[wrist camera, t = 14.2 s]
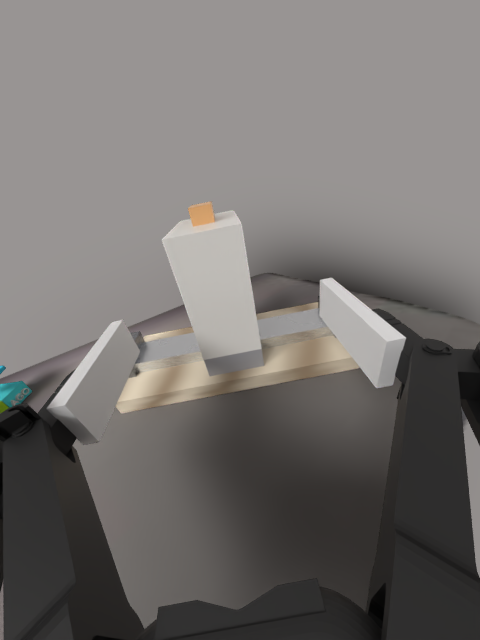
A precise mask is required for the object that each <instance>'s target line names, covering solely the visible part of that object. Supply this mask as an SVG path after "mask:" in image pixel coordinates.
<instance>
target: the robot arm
mask: <svg viewBox="0 0 480 640" xmlns="http://www.w3.org/2000/svg"><path fill="white" fill-rule="evenodd" d="M319 316H320V317H321V318H322V320H323V321H324V322H325V324H326V325H327V326H328V327H329V329H330V330H331V331H332V332H333V334H334V335H335V336H336V338H337V339H338V340H339V341H340V343H341V344H342V345H343V346H344V348H345V349H346V350H347V352H348V353H349V354H350V355H351V357H352V358H353V359H354V360H355V362H356V363H357V364H358V366H359V367H360V368H361V369H362V371H363V372H364V373H365V374H366V376H367V377H368V378H369V380H370V381H371V382H372V383H373V385H374V386H375V387H376V388H381V387H386V386H391V385H393V383H394V379H395V376H396V377H397V378H398V379H399V380H400V381H401V382H402V383H401V387H400V390H399V393H398V396H397V399H399V400H398V406H397V413H396V420H395V427H394V434H393V441H392V448H391V455H390V462H389V469H388V476H387V483H386V490H385V497H384V504H383V511H382V518H381V525H380V532H379V539H378V546H377V553H376V558H375V563H374V567H373V571H372V576H371V581H370V587H369V593H368V600H367V607H366V612H364V611H363V610H362V609H361V608H360V607H359V606H357V605H356V604H355V603H354V602H352V601H351V600H350V599H348V598H346V597H345V596H343V595H341V594H340V593H338V592H335V591H333V590H330V589H328V588H324V587H320V586H319V585H318V581H317V578H315V579H310V580H304V581H299V582H293V583H288V584H282V585H278V586H276V587H274V588H273V589H271V590H270V591H268V592H267V593H265V594H264V595H262V596H260V597H259V598H257V599H256V600H254V601H253V602H251V603H250V604H248V605H246V606H245V607H243V608H242V609H239V610H233V609H230V608H226V607H222V606H218V605H214V604H210V603H206V602H202V601H198V600H195V601H190V602H184V603H179V604H173V605H168V606H162V607H159V608H158V615H157V620H155V621H154V622H153V623H152V624H150V625H149V626H148V627H147V628H146V629H145V630H144V627H143V625H142V623H141V621H140V619H139V617H138V615H137V614H136V613H135V611H134V610H133V609H132V607H131V606H130V604H129V602H128V600H127V598H126V595H125V592H124V590H123V587H122V584H121V581H120V578H119V575H118V572H117V569H116V566H115V563H114V560H113V557H112V554H111V551H110V548H109V545H108V542H107V539H106V536H105V533H104V530H103V528H102V525H101V522H100V519H99V516H98V513H97V510H96V507H95V504H94V501H93V498H92V495H91V492H90V489H89V486H88V483H87V480H86V477H85V474H84V471H83V468H82V466H81V463H80V460H79V457H78V454H77V451H76V449H75V448H74V447H73V446H72V445H73V443H74V442H75V440H76V438H77V439H78V440H79V441H80V442H81V443H82V444H83V445H87V444H93V443H98V442H100V440H101V438H102V435H103V433H104V431H105V429H106V426H107V424H108V422H109V420H110V418H111V415H112V413H113V411H114V409H115V406H116V404H117V402H118V400H119V398H120V395H121V393H122V391H123V389H124V386H125V384H126V382H127V380H128V378H129V375H130V373H131V371H132V369H133V366H134V364H135V362H136V360H137V358H138V355H139V353H140V350H139V348H138V346H137V345H136V343H135V341H134V339H133V337H132V335H131V333H130V332H129V330H128V328H127V326H126V324H125V322H124V321H123V320H119V321H115V322H111V324H110V325H109V326H108V328H107V329H106V330H105V332H104V333H103V334H102V336H101V337H100V338H99V339H98V341H97V342H96V343H95V345H94V346H93V347H92V349H91V350H90V351H89V353H88V354H87V355H86V357H85V358H84V359H83V361H82V362H81V363H80V365H79V366H78V367H77V369H75V370H74V371H73V372H71V373H70V374H69V375H68V376H67V377H66V378H65V379H64V380H63V382H62V383H61V384H60V387H58V388H57V389H56V391H55V393H53V394H52V396H51V397H50V398H49V400H48V401H47V402H46V403H45V405H44V406H43V407H42V409H41V410H40V411H39V412H38V414H37V413H36V412H35V411H34V410H33V409H32V408H31V407H30V406H29V405H28V404H26V403H21V404H17V405H15V406H12V407H10V408H8V409H7V410H5V411H4V412H2V413H0V591H1V587H2V582H3V592H4V640H480V578H479V575H478V573H477V569H476V563H475V552H474V541H473V531H472V519H471V509H470V499H469V487H468V476H467V466H466V456H465V444H464V433H463V423H462V412H461V407H462V409H463V411H464V413H465V415H466V417H467V419H468V422H469V424H470V426H471V428H472V430H473V432H474V434H475V437H476V438H477V440H478V443H479V445H480V342H479V343H478V345H477V347H476V349H475V350H469V349H453V348H452V347H451V346H450V345H448V344H446V343H444V342H442V341H438V340H434V339H423V338H422V337H420V336H419V335H418V334H416V333H415V332H414V331H412V330H411V329H410V328H408V327H407V326H406V325H404V324H402V323H401V322H400V321H399V320H398V319H395V317H393V316H392V315H391V314H389V313H388V312H386V311H383V310H380V309H373V310H371V309H370V308H369V307H367V306H366V305H365V304H364V303H362V302H361V301H360V300H359V299H357V298H356V297H355V296H354V295H352V294H351V293H350V292H349V291H348V290H346V289H345V288H344V287H343V286H341V285H340V284H339V283H337V282H336V281H335V280H334V279H333V278H328V279H323V280H320V312H319Z"/></svg>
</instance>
